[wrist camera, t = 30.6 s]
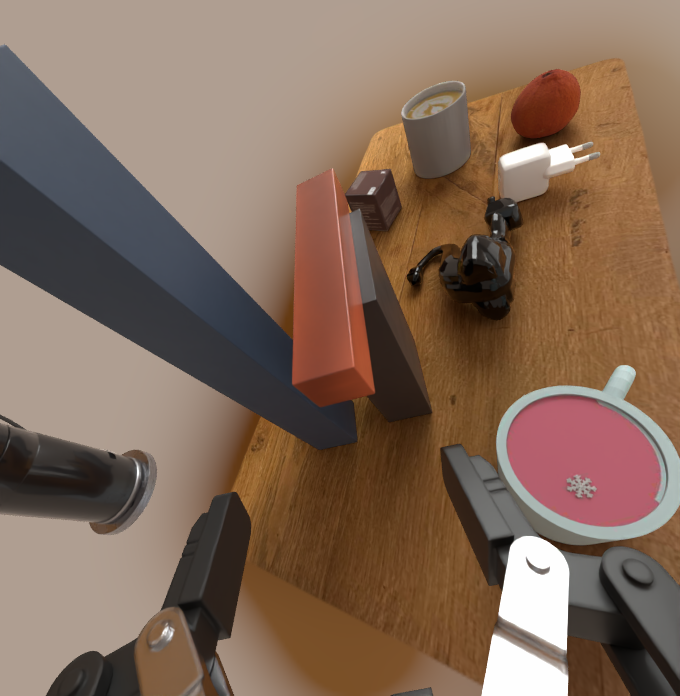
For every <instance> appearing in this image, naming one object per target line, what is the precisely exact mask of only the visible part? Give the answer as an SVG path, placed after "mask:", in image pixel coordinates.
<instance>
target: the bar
mask: <svg viewBox="0 0 680 696" xmlns="http://www.w3.org/2000/svg"><path fill="white" fill-rule="evenodd" d="M295 239H296V240H295V280H294V322H293V325H294V326H293V363H292V385H293V386H294V387H295V388H297V389H298V390H299V391H300V392H302V393H303V394H304V395H305V396H306V397H308V398H309V399H310V400H311V401H313V402H314V403H315V404H316V405H318V406H319V407H324V406H328V405H332V404H336V403H340V402H344V401H348V400H352V399H356V398H360V397H364V396H368V395H372V394H375V388H374V381H373V374H372V367H371V360H370V353H369V347H368V340H367V333H366V326H365V319H364V312H363V305H362V298H361V291H360V284H359V278H358V271H357V264H356V257H355V250H354V243H353V236H352V229H351V222H350V215H349V209H348V202H347V199H346V196H345V194H344V192H343V190H342V187H341V185H340V183H339V181H338V178H337V176H336V174H335V172H334V169H333V168H332V169H329V170H327V171H326V172H323V173H322V174H319V175H317V176H315V177H314V178H311V179H309V180H307V181H305V182H303V183H301V184H299V185H297V197H296V238H295Z"/></svg>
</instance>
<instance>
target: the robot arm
mask: <svg viewBox="0 0 680 696" xmlns="http://www.w3.org/2000/svg"><path fill="white" fill-rule="evenodd" d="M0 419H2V420H4V421H6V422H8V423H9V424H11V425H12V426H9V425H5V424H2V423H0V514H4V515H15V516H26V517H38V518H51V519H61V520H73V521H83V522H95V523H98V524H110V523H112V522H114V521H116V520H118V519H119V518H120V517H121V516H122V515H123V514H124V513H125V512H126V511H127V510H128V509H129V507H130V506H131V505H132V503H133V501H134V500H135V498H136V496H137V494H138V492H139V489H140V486H141V482H142V476H143V470H142V465H141V463H140V461H139V460H138V459H136V458H132V457H128V456H122V455H119V454H116V453H114V452H112V453H111V452H108V450H106V451H104V450H100V449H96V448H92V447H89V446H85V445H81V444H77V443H74V442H70V441H66V440H62V439H59V438H55V437H51V436H47V435H43V434H40V433H36V432H31V431H27V430H26V429H24V428H23V427H21V426H20V425H18V424H17V423H15V422H13V421H11V420H10V419H8V418H6V417H3V416H2V415H0ZM13 426H14V427H13ZM440 452H441V462H442V473H443V479H444V483H445V486H446V489H447V492H448V494H449V497H450V499H451V501H452V503H453V506H454V508H455V510H456V512H457V515H458V517H459V519H460V521H461V524H462V526H463V528H464V530H465V533H466V535H467V537H468V539H469V542H470V544H471V546H472V549H473V551H474V553H475V555H476V558H477V560H478V562H479V564H480V567H481V569H482V571H483V573H484V576H485V578H486V580H487V582H488V585H489V586H492V585H497V584H499V586H500V588H501V590H502V597H501V603H500V609H499V614H498V619H497V622H496V624H495V627H494V632H493V637H492V642H491V648H490V653H489V659H488V664H487V670H486V675H485V681H484V686H483V692H482V696H567V694H568V662H567V657H566V646H567V635H568V636H573V637H578V638H582V639H587V640H592V641H596V642H600V643H601V645H602V646H603V648H604V650H605V651H606V653H607V655H608V657H609V658H610V660H611V662H612V663H613V665H614V667H615V669H616V670H617V672H618V674H619V676H620V677H621V679H622V681H623V682H624V684H625V686H626V688H627V689H628V691H629V693H630V694H631V696H680V586H679V585H678V584H677V583H676V581H675V580H674V579H673V578H672V577H671V576H670V575H669V573H668V572H667V571H666V570H665V569H664V568H663V567H662V566H661V565H660V564H659V563H658V562H656V561H655V560H654V559H652V558H651V557H649V556H648V555H646V554H644V553H642V552H640V551H638V550H635V549H632V548H628V547H621V546H619V547H612V548H609V549H607V550H606V551H605V552H604V554H603V556H602V557H597V556H590V555H582V554H575V553H569V552H565V551H562V550H560V549H557V548H555V547H554V546H553V545H552V544H550V543H549V542H547V541H545V540H543V539H542V538H541V537H540V536H539V535H538V534H537V533H536V532H535V530H534V529H533V527H532V526H531V524H530V523H529V521H528V520H527V518H526V517H525V515H524V514H523V512H522V511H521V509H520V507H519V506H518V504H517V503H516V501H515V500H514V498H513V497H512V495H511V494H510V492H509V491H508V490H507V488H506V486H505V484H504V483H503V481H502V480H501V479H500V477H499V475H498V474H497V472H496V471H495V469H494V468H493V466H492V465H491V464H490V463H489V462H487V461H486V460H485V459H483V458H482V457H481V456H480V455H477V456H472V457H469V456H468V455H467V453H466V451H465V449H464V448H463V446H462V445H461V444H456V445H451V446H446V447H442V448H441V449H440ZM250 535H251V521H250V517H249V515H248V513H247V511H246V509H245V507H244V505H243V503H242V501H241V500H240V498H239V496H238V494H237V493H236V492H231V493H227V494H222V495H217V496H215V497H214V498H213V500H212V503H211V506H210V509H209V511H208V513H203V514H202V515H201V516H200V517H199V519H198V520H197V522H196V523H195V524H194V526H193V527H192V529H191V532H190V535H189V537H188V540H187V545H186V546H185V548H184V550H183V553H182V558H181V559H180V561H179V564H178V566H177V569H176V572H175V574H174V577H173V580H172V582H171V585H170V588H169V590H168V593H167V596H166V598H165V601H164V604H163V606H162V608H161V610H160V612H158V613H157V614H156V615H154V616H153V617H152V618H151V619H150V620H149V621H148V623H147V624H146V625H145V626H144V628H143V629H142V631H141V633H140V634H139V636H138V638H136V639H135V640H133V641H132V642H130V643H128V644H126V645H125V646H123V647H121V648H119V649H118V650H116V651H114V652H112V653H110V654H109V655H107V656H105V657H104V656H102V655H101V654H100V653H99V652H96V651H90V652H87V653H84V654H82V655H80V656H79V657H77V658H76V659H75V660H74V661H72V662H71V663H70V664H69V665H68V666H67V667H66V668H65V669H64V670H63V671H62V672H61V673H60V674H59V676H58V677H57V678H56V679H55V681H54V683H53V684H52V685H51V687H50V689H49V691H48V693H47V695H46V696H234V694H233V692H232V689H231V686H230V684H229V681H228V679H227V676H226V673H225V671H224V668H223V666H222V663H221V661H220V658H219V656H218V654H217V652H216V646H217V641H218V640H223V639H227V638H230V637H231V632H232V627H233V622H234V616H235V611H236V606H237V601H238V596H239V591H240V586H241V581H242V576H243V571H244V565H245V560H246V555H247V550H248V545H249V540H250ZM391 696H433V694H432V689H431V687H430V688H425V689H420V690H414V691H409V692H403V693H398V694H393V695H391Z"/></svg>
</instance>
